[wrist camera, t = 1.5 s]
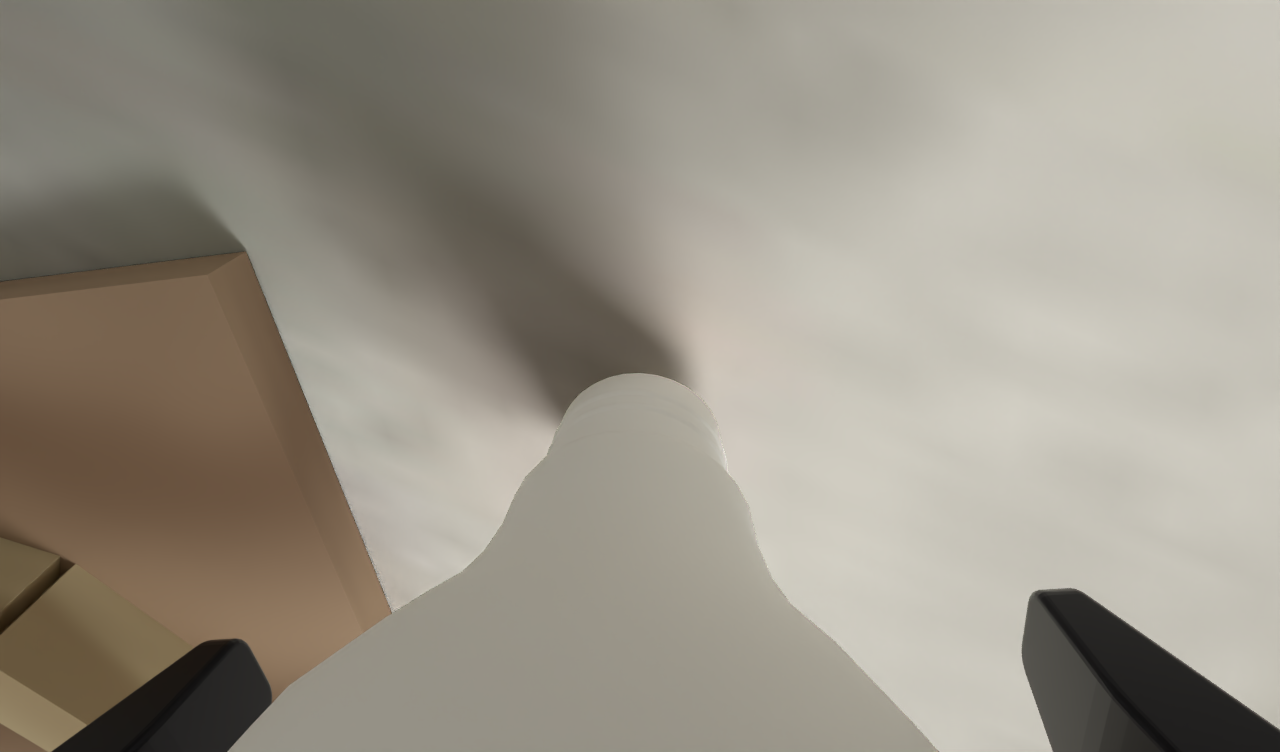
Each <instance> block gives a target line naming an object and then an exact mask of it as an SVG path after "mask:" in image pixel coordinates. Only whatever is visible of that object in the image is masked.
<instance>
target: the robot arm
mask: <svg viewBox="0 0 1280 752" xmlns="http://www.w3.org/2000/svg"><path fill="white" fill-rule="evenodd" d="M1022 660H1023V665H1024V669H1025V673H1026V676H1027V678H1028V681H1029V684H1030V687H1031V690H1032V693H1033V696H1034V699H1035V701H1036V704H1037V707H1038V710H1039V713H1040V716H1041V719H1042V721H1043V724H1044V727H1045V730H1046V733H1047V736H1048V739H1049V742H1050V744H1051V747H1052V750H1053V752H1280V730H1279V729H1278V728H1277V727H1275V726H1274V725H1272V724H1271V723H1269V722H1268V721H1267V720H1265V719H1264V718H1262V717H1261V716H1259V715H1258V714H1257V713H1255V712H1254V711H1252V710H1251V709H1249V708H1248V707H1247V706H1245V705H1244V704H1242V703H1241V702H1239V701H1238V700H1237V699H1235V698H1234V697H1232V696H1231V695H1229V694H1228V693H1227V692H1225V691H1224V690H1222V689H1221V688H1219V687H1218V686H1217V685H1215V684H1214V683H1212V682H1211V681H1209V680H1208V679H1206V678H1205V677H1204V676H1202V675H1201V674H1199V673H1198V672H1196V671H1195V670H1194V669H1192V668H1191V667H1189V666H1188V665H1186V664H1185V663H1184V662H1182V661H1181V660H1179V659H1178V658H1176V657H1175V656H1174V655H1172V654H1171V653H1169V652H1168V651H1166V650H1165V649H1164V648H1162V647H1161V646H1159V645H1158V644H1156V643H1155V642H1154V641H1152V640H1151V639H1149V638H1148V637H1146V636H1145V635H1144V634H1142V633H1141V632H1139V631H1138V630H1136V629H1135V628H1133V627H1132V626H1131V625H1129V624H1128V623H1126V622H1125V621H1123V620H1122V619H1121V618H1119V617H1118V616H1116V615H1115V614H1113V613H1112V612H1111V611H1109V610H1108V609H1106V608H1105V607H1103V606H1102V605H1101V604H1099V603H1098V602H1096V601H1095V600H1093V599H1092V598H1091V597H1089V596H1088V595H1086V594H1085V593H1083V592H1081V591H1079V590H1077V589H1072V588H1065V589H1048V590H1038V591H1035V592H1033V593H1032V595H1031V596H1030V599H1029V602H1028V608H1027V615H1026V621H1025V628H1024V635H1023V641H1022ZM271 704H272V690H271V686H270V683H269V681H268V679H267V678H266V676H265V674H264V672H263V670H262V668H261V666H260V665H259V663H258V661H257V659H256V657H255V655H254V654H253V652H252V650H251V648H250V646H249V645H248V644H247V643H246V642H245V641H243V640H242V639H238V638H233V639H217V640H209V641H205V642H203V643H201V644H199V645H198V646H196V647H195V648H193V649H192V650H191V651H189V652H188V653H186V654H185V655H184V656H182V657H181V658H180V659H178V660H177V661H175V662H174V663H173V664H171V665H170V666H168V667H167V668H166V669H164V670H163V671H162V672H160V673H159V674H157V675H156V676H155V677H153V678H152V679H151V680H149V681H148V682H146V683H145V684H144V685H142V686H141V687H140V688H138V689H137V690H135V691H134V692H133V693H131V694H130V695H129V696H127V697H126V698H124V699H123V700H122V701H120V702H119V703H117V704H116V705H115V706H113V707H112V708H111V709H109V710H108V711H106V712H105V713H104V714H102V715H101V716H100V717H98V718H97V719H95V720H94V721H93V722H91V723H90V724H89V725H87V726H86V727H84V728H83V729H82V730H80V731H79V732H78V733H76V734H75V735H73V736H72V737H71V738H69V739H68V740H67V741H65V742H64V743H62V744H61V745H60V746H58V747H57V748H55V749H54V750H53V751H51V752H227V751H228V750H229V749H230V748H231V747H232V746H233V745H234V744H235V743H236V741H237V740H238V739H239V738H240V737H241V736H242V735H243V734H244V733H245V732H246V731H247V729H248V728H249V727H250V726H251V725H252V724H253V723H254V722H255V721H256V720H257V719H258V718H259V717H260V715H261V714H262V713H263V712H264V711H265V710H266V709H267V708H268V707H269V706H270V705H271Z"/></svg>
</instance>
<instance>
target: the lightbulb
mask: <svg viewBox="0 0 1280 752" xmlns="http://www.w3.org/2000/svg"><path fill="white" fill-rule="evenodd" d="M227 752H939V751H938V750H937V749H936V748H935V747H934V746H933V744H932V743H931V742H930V741H929V740H928V739H927V738H926V737H925V736H924V734H923V733H922V732H921V731H920V730H919V729H918V728H917V727H916V726H915V724H914V723H913V722H912V721H911V720H910V719H909V718H908V717H907V716H906V715H905V714H904V713H903V712H902V711H901V710H900V709H899V708H898V707H897V706H896V704H895V703H894V702H893V701H892V700H891V699H890V698H889V697H888V696H887V695H886V694H885V693H884V692H883V691H882V690H881V689H880V688H879V687H878V686H877V685H876V684H875V683H874V682H873V680H872V679H871V678H870V677H869V676H868V675H867V674H866V673H865V672H864V671H863V670H862V669H861V668H860V667H859V666H858V665H857V664H856V663H855V662H854V661H853V660H852V659H851V658H850V656H849V655H848V654H847V653H846V652H845V651H844V650H843V649H842V648H841V647H840V646H839V645H838V644H837V643H836V642H835V641H834V640H833V639H831V638H830V637H829V636H828V635H827V634H826V633H824V632H823V631H822V630H821V629H820V628H819V627H817V626H816V625H815V624H814V623H813V622H811V621H810V620H809V619H808V618H807V617H806V616H804V615H803V614H802V613H801V612H800V611H799V610H797V609H796V608H795V607H794V606H793V605H792V604H791V603H790V602H789V601H788V599H787V598H786V596H785V595H784V594H783V592H782V591H781V590H780V588H779V587H778V585H777V584H776V583H775V581H774V580H773V578H772V576H771V574H770V572H769V569H768V567H767V565H766V562H765V560H764V558H763V556H762V553H761V551H760V549H759V546H758V541H757V537H756V533H755V528H754V524H753V520H752V516H751V512H750V509H749V505H748V503H747V501H746V500H745V498H744V496H743V494H742V492H741V490H740V488H739V487H738V485H737V484H736V482H735V481H734V480H733V478H732V477H731V476H730V475H729V472H728V468H727V459H726V455H725V452H724V448H723V445H722V441H721V436H720V432H719V428H718V424H717V421H716V419H715V417H714V415H713V414H712V412H711V410H710V408H709V407H708V406H707V405H706V403H705V402H704V401H703V400H702V399H701V398H700V397H699V396H698V395H697V394H695V393H694V392H693V391H692V390H690V389H689V388H688V387H686V386H684V385H682V384H680V383H678V382H676V381H675V380H672V379H669V378H666V377H662V376H659V375H653V374H645V373H629V374H621V375H617V376H612V377H608V378H606V379H604V380H601V381H599V382H597V383H594V384H593V385H591V386H590V387H588V388H587V389H585V390H584V391H582V392H581V393H580V394H579V395H578V396H577V397H576V398H575V400H574V401H573V402H572V403H571V404H570V406H569V408H568V409H567V411H566V413H565V414H564V417H563V419H562V422H561V424H560V426H559V427H558V429H557V430H556V432H555V435H554V438H553V442H552V444H551V446H550V447H549V450H548V453H547V456H546V457H545V458H544V459H543V460H542V461H541V462H540V463H539V464H538V465H537V466H536V467H535V468H534V469H533V470H532V471H531V472H530V473H529V474H528V475H527V476H526V477H525V479H524V481H523V482H522V484H521V486H520V487H519V489H518V491H517V492H516V494H515V496H514V499H513V501H512V503H511V505H510V508H509V510H508V512H507V514H506V517H505V519H504V521H503V524H502V525H501V527H500V528H499V530H498V531H497V533H496V534H495V536H494V537H493V538H492V540H491V541H490V543H489V544H488V546H487V547H486V549H485V550H484V552H482V553H481V554H480V555H479V556H478V557H477V558H476V559H475V560H474V561H473V562H472V563H471V564H470V565H469V566H468V567H467V568H465V569H464V570H463V571H462V572H461V573H459V574H457V575H455V576H453V577H452V578H450V579H448V580H446V581H445V582H443V583H441V584H439V585H438V586H436V587H434V588H432V589H430V590H429V591H427V592H425V593H424V594H422V595H421V596H419V597H417V598H416V599H414V600H413V601H411V602H409V603H408V604H406V605H405V606H403V607H401V608H400V609H398V610H397V611H395V612H393V613H392V614H390V615H389V616H387V617H385V618H384V619H383V620H381V621H380V622H378V623H377V624H375V625H374V626H373V627H371V628H370V629H368V630H367V631H366V632H364V633H363V634H361V635H360V636H358V637H357V638H356V639H354V640H353V641H351V642H350V643H349V644H347V645H346V646H344V647H343V648H341V649H340V650H339V651H337V652H336V653H334V654H333V655H331V656H330V657H329V658H327V659H326V660H324V661H323V662H322V663H320V664H319V665H317V666H316V667H314V668H313V669H312V670H310V671H309V672H307V673H306V674H304V675H303V676H302V677H300V678H299V679H297V680H296V681H295V682H293V683H292V684H290V685H289V686H288V687H287V688H286V689H285V690H284V691H283V692H282V693H281V694H280V695H279V696H278V697H277V699H276V700H275V701H274V702H273V703H272V704H271V705H270V706H269V707H268V708H267V709H266V710H265V711H264V712H263V713H262V714H261V715H260V717H259V718H258V719H257V720H256V721H255V722H254V723H253V724H252V725H251V726H250V727H249V728H248V729H247V731H246V732H245V733H244V734H243V735H242V736H241V737H240V738H239V739H238V740H237V741H236V743H235V744H234V745H233V746H232V747H231V748H230V749H229V750H228V751H227Z"/></svg>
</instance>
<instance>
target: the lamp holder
mask: <svg viewBox="0 0 1280 752" xmlns="http://www.w3.org/2000/svg"><path fill="white" fill-rule="evenodd" d="M390 614H392V613H391V610H390V608H389V605H388V603H387V600H386V598H385V595H384V593H383V591H382V588H381V586H380V583H379V581H378V578H377V576H376V573H375V571H374V568H373V566H372V563H371V561H370V558H369V556H368V553H367V551H366V548H365V546H364V543H363V541H362V538H361V536H360V533H359V531H358V528H357V526H356V523H355V521H354V518H353V516H352V513H351V511H350V508H349V506H348V504H347V501H346V499H345V496H344V494H343V491H342V489H341V486H340V484H339V481H338V479H337V476H336V474H335V471H334V469H333V466H332V464H331V461H330V459H329V456H328V454H327V451H326V449H325V446H324V444H323V441H322V439H321V436H320V434H319V431H318V429H317V426H316V424H315V422H314V419H313V417H312V414H311V412H310V409H309V407H308V404H307V402H306V399H305V397H304V394H303V392H302V389H301V387H300V384H299V382H298V379H297V377H296V374H295V372H294V369H293V367H292V364H291V362H290V359H289V357H288V354H287V352H286V349H285V347H284V344H283V342H282V340H281V337H280V335H279V332H278V330H277V327H276V325H275V322H274V320H273V317H272V315H271V312H270V310H269V307H268V305H267V302H266V300H265V297H264V295H263V292H262V290H261V287H260V285H259V282H258V280H257V277H256V275H255V272H254V270H253V267H252V265H251V262H250V260H249V258H248V255H247V253H246V252H238V253H229V254H221V255H213V256H205V257H197V258H189V259H181V260H173V261H164V262H156V263H148V264H140V265H132V266H124V267H116V268H108V269H99V270H91V271H83V272H75V273H67V274H59V275H51V276H43V277H34V278H26V279H18V280H10V281H2V282H0V752H51V751H53V750H54V749H55V748H57V747H58V746H60V745H61V744H62V743H64V742H65V741H67V740H68V739H69V738H71V737H72V736H73V735H75V734H76V733H78V732H79V731H80V730H82V729H83V728H84V727H86V726H87V725H89V724H90V723H91V722H93V721H94V720H95V719H97V718H98V717H100V716H101V715H102V714H104V713H105V712H106V711H108V710H109V709H111V708H112V707H113V706H115V705H116V704H117V703H119V702H120V701H122V700H123V699H124V698H126V697H127V696H129V695H130V694H131V693H133V692H134V691H135V690H137V689H138V688H140V687H141V686H142V685H144V684H145V683H146V682H148V681H149V680H151V679H152V678H153V677H155V676H156V675H157V674H159V673H160V672H162V671H163V670H164V669H166V668H167V667H168V666H170V665H171V664H173V663H174V662H175V661H177V660H178V659H180V658H181V657H182V656H184V655H185V654H186V653H188V652H189V651H191V650H192V649H193V648H195V647H196V646H198V645H199V644H201V643H203V642H205V641H209V640H217V639H233V638H238V639H242V640H243V641H245V642H246V643H247V644H248V645H249V646H250V648H251V650H252V652H253V654H254V655H255V657H256V659H257V661H258V663H259V665H260V666H261V668H262V670H263V672H264V674H265V676H266V678H267V679H268V681H269V683H270V686H271V690H272V703H273V702H274V701H275V700H276V699H277V697H278V696H279V695H280V694H281V693H282V692H283V691H284V690H285V689H286V688H287V687H288V686H289V685H290V684H292V683H293V682H295V681H296V680H297V679H299V678H300V677H302V676H303V675H304V674H306V673H307V672H309V671H310V670H312V669H313V668H314V667H316V666H317V665H319V664H320V663H322V662H323V661H324V660H326V659H327V658H329V657H330V656H331V655H333V654H334V653H336V652H337V651H339V650H340V649H341V648H343V647H344V646H346V645H347V644H349V643H350V642H351V641H353V640H354V639H356V638H357V637H358V636H360V635H361V634H363V633H364V632H366V631H367V630H368V629H370V628H371V627H373V626H374V625H375V624H377V623H378V622H380V621H381V620H383V619H384V618H385V617H387V616H389V615H390Z"/></svg>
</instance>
